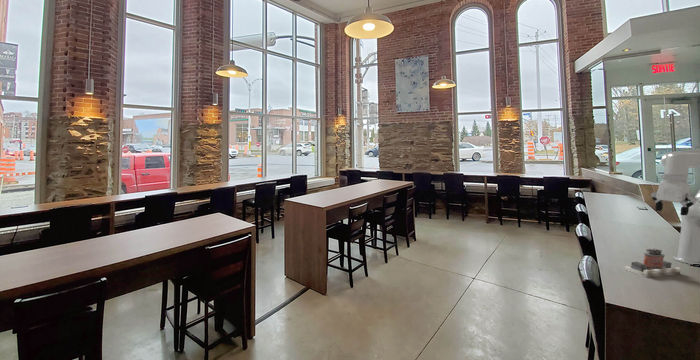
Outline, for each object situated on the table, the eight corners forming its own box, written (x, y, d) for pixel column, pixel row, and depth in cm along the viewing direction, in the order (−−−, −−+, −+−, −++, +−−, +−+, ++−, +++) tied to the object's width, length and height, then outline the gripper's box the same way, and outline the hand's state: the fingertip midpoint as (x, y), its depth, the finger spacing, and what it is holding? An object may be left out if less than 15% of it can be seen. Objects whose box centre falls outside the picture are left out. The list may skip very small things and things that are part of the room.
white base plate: (656, 266, 144) (658, 258, 143) (680, 274, 135) (681, 265, 135) (624, 269, 141) (625, 260, 140) (646, 277, 132) (647, 268, 131)
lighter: (658, 267, 139) (660, 248, 138) (664, 270, 136) (667, 250, 135) (640, 266, 140) (642, 247, 139) (646, 269, 136) (648, 249, 135)
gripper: (647, 176, 146) (643, 209, 148) (693, 180, 129) (688, 217, 131) (659, 176, 147) (655, 208, 149) (706, 180, 130) (700, 216, 132)
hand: (670, 212), depth 140 cm, fingers open, 9 cm apart
